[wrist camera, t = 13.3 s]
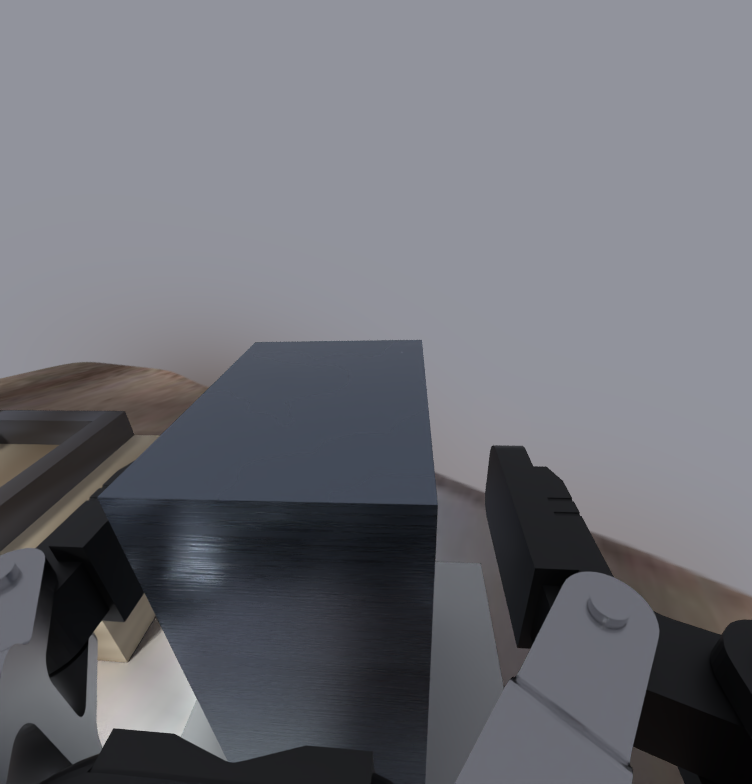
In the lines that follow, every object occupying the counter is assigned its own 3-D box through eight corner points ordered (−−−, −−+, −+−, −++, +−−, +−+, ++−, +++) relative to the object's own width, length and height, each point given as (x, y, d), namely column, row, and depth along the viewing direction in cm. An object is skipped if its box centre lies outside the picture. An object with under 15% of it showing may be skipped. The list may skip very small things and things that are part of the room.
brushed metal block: (253, 812, 10) (96, 497, 5) (305, 599, 15) (255, 342, 10) (423, 828, 10) (438, 505, 5) (417, 604, 15) (421, 339, 10)
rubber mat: (112, 926, 9) (102, 920, 9) (261, 562, 18) (258, 553, 18) (553, 990, 8) (558, 984, 8) (479, 572, 17) (480, 563, 17)
